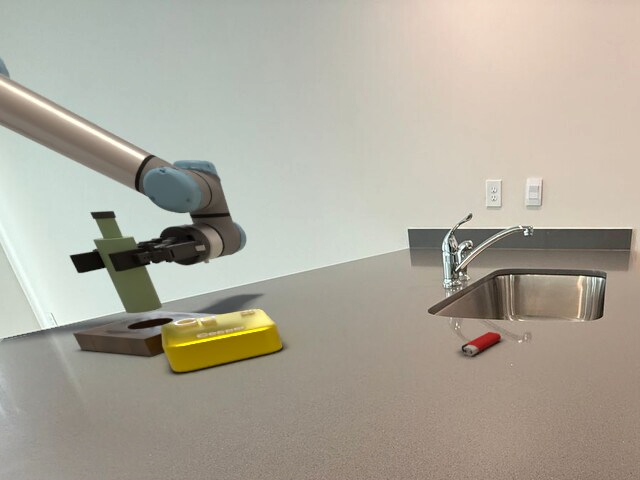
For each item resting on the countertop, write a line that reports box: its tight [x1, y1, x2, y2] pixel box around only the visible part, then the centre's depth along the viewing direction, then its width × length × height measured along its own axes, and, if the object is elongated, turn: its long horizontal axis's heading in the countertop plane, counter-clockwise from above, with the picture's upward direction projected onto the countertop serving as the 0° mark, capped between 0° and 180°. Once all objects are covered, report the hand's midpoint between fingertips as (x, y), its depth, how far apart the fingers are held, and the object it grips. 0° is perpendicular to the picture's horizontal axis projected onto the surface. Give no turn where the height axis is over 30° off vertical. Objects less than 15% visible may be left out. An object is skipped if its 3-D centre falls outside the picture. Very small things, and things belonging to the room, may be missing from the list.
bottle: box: [90, 210, 163, 314], centre depth 68 cm, size 5×5×16 cm
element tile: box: [161, 308, 283, 373], centre depth 68 cm, size 15×15×5 cm
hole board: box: [72, 310, 220, 357], centre depth 74 cm, size 16×14×3 cm
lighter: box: [461, 331, 502, 357], centre depth 66 cm, size 3×1×8 cm
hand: (95, 263), depth 63 cm, fingers closed on bottle, 5 cm apart
